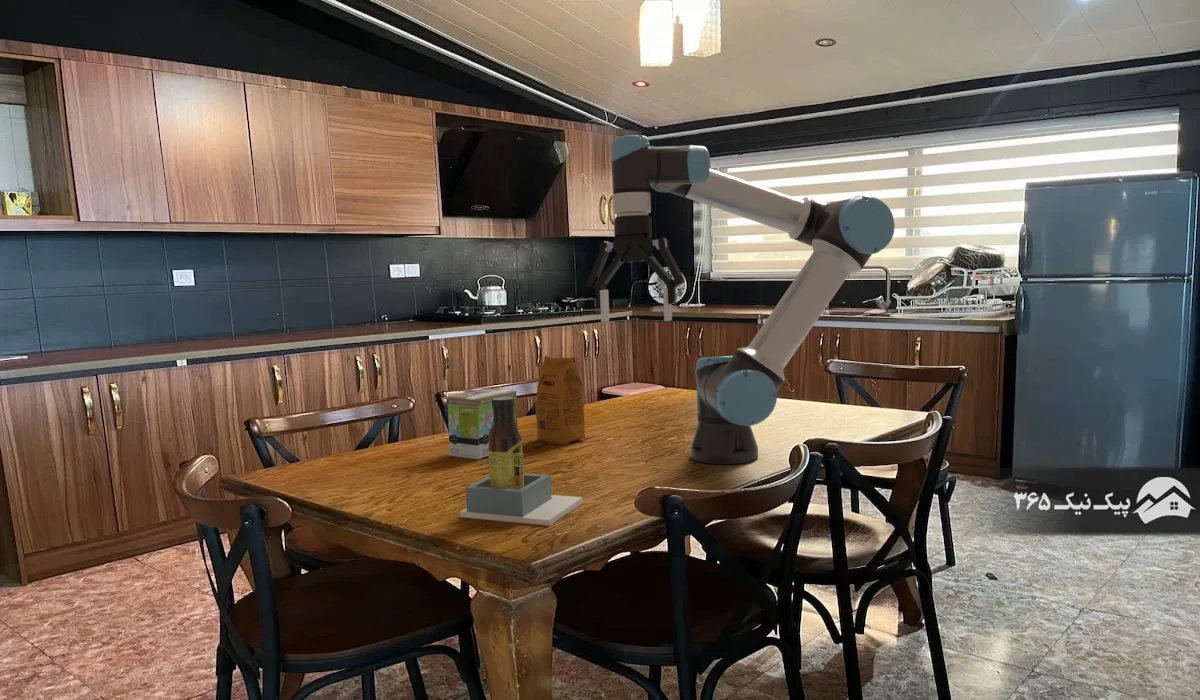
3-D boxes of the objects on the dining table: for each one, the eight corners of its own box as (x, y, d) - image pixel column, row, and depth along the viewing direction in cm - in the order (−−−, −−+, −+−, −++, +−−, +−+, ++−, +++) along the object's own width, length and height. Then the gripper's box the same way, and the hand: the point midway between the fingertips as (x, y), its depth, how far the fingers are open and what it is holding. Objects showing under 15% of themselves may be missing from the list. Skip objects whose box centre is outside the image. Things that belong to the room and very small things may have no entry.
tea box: (480, 460, 186) (477, 398, 185) (448, 456, 192) (445, 396, 190) (520, 447, 199) (517, 389, 198) (489, 444, 204) (486, 387, 203)
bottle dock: (582, 502, 149) (581, 474, 149) (549, 525, 136) (548, 494, 136) (499, 495, 156) (497, 468, 156) (460, 517, 143) (458, 487, 143)
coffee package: (561, 434, 213) (557, 352, 211) (590, 440, 203) (587, 355, 201) (531, 440, 207) (526, 356, 204) (559, 447, 197) (555, 359, 195)
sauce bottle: (523, 509, 143) (517, 400, 141) (488, 510, 143) (482, 402, 141) (527, 499, 149) (521, 394, 147) (493, 500, 150) (488, 396, 148)
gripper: (697, 212, 158) (700, 318, 160) (583, 220, 167) (587, 320, 170) (687, 210, 151) (690, 321, 153) (568, 218, 161) (572, 323, 163)
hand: (636, 321), depth 161 cm, fingers open, 13 cm apart
